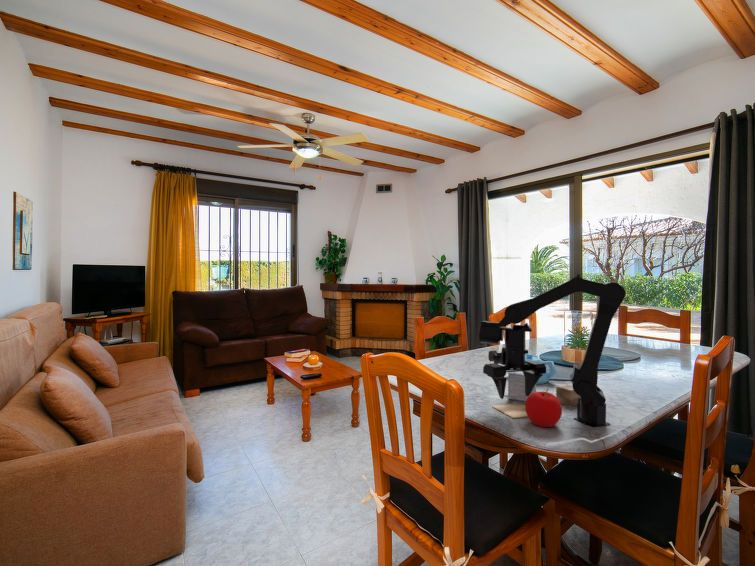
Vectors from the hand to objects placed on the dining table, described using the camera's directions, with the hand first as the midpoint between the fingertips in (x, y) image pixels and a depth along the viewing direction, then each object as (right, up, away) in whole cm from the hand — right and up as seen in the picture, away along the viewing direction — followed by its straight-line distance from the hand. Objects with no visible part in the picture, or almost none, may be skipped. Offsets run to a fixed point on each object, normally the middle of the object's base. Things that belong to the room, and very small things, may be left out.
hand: (514, 397), depth 111 cm
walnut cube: (+20, -4, +6) cm, 21 cm away
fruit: (+4, -4, -11) cm, 12 cm away
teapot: (+17, -4, +32) cm, 37 cm away
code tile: (+6, -4, +9) cm, 12 cm away
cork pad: (0, -4, -1) cm, 4 cm away
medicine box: (+6, -4, +9) cm, 12 cm away
